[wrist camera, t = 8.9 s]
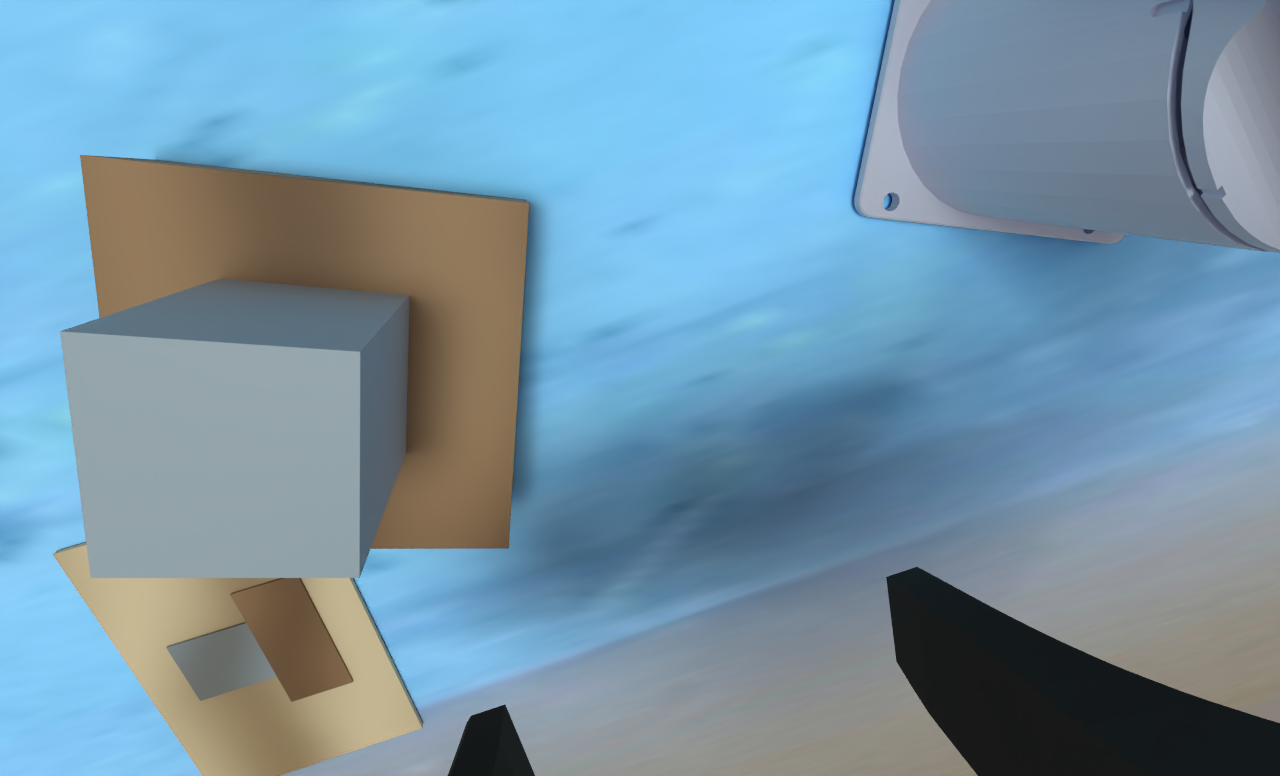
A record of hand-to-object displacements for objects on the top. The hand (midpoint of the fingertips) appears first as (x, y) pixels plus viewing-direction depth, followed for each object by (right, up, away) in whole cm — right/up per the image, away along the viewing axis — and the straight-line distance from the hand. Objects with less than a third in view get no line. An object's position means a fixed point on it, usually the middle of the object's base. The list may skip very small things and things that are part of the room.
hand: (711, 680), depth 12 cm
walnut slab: (-9, +6, +7) cm, 13 cm away
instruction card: (-13, -3, +9) cm, 16 cm away
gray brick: (-9, +6, +4) cm, 11 cm away
